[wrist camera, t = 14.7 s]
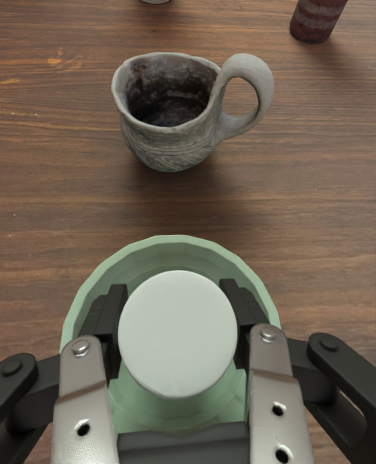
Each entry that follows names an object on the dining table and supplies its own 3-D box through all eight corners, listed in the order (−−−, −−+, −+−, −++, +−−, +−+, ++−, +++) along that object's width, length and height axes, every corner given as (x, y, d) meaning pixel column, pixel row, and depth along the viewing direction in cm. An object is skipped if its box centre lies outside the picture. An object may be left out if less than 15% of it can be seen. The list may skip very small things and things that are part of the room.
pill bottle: (135, 385, 14) (98, 425, 7) (137, 302, 16) (108, 262, 9) (215, 377, 15) (262, 407, 7) (207, 297, 17) (237, 256, 9)
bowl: (271, 433, 16) (310, 466, 12) (78, 453, 15) (38, 498, 11) (241, 256, 21) (261, 231, 17) (96, 262, 20) (74, 237, 16)
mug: (135, 110, 28) (119, -4, 19) (245, 125, 28) (281, 19, 19) (115, 179, 24) (81, 76, 15) (244, 196, 24) (289, 104, 15)
